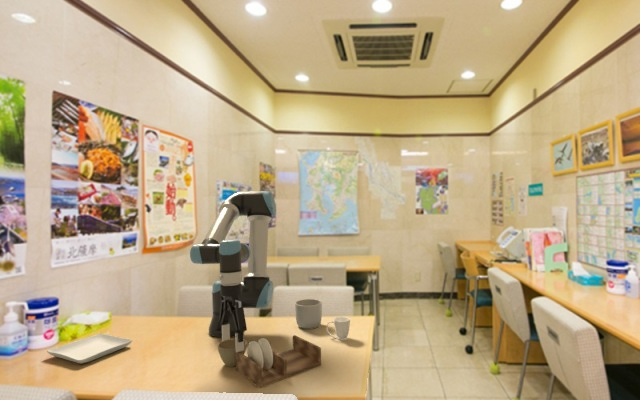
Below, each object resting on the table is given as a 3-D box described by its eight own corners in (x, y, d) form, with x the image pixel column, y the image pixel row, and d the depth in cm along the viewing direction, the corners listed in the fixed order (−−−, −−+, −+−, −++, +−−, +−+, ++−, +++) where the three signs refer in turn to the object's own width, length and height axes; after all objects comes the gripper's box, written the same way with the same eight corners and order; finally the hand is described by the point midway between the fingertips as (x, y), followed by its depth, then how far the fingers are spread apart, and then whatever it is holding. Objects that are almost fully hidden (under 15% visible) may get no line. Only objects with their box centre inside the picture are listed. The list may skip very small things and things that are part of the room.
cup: (349, 342, 143) (349, 321, 143) (325, 341, 144) (325, 321, 145) (351, 335, 150) (351, 316, 150) (328, 335, 151) (327, 316, 152)
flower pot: (236, 355, 132) (236, 336, 132) (252, 363, 125) (252, 342, 125) (212, 364, 125) (212, 344, 125) (228, 373, 118) (227, 351, 118)
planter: (322, 330, 157) (321, 305, 158) (294, 331, 157) (293, 306, 158) (322, 321, 170) (321, 298, 170) (296, 322, 170) (296, 299, 170)
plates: (247, 367, 119) (247, 337, 120) (258, 363, 122) (258, 334, 122) (261, 378, 112) (261, 346, 112) (273, 374, 114) (272, 342, 114)
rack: (236, 369, 120) (236, 351, 120) (295, 351, 135) (294, 335, 135) (259, 387, 108) (258, 367, 108) (321, 365, 122) (320, 347, 122)
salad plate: (134, 347, 144) (134, 338, 144) (80, 369, 124) (80, 359, 125) (100, 340, 153) (100, 332, 153) (45, 359, 133) (45, 350, 133)
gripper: (208, 281, 133) (210, 341, 132) (235, 289, 115) (237, 359, 113) (227, 278, 137) (229, 336, 136) (255, 286, 119) (257, 352, 118)
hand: (232, 346), depth 125 cm, fingers open, 11 cm apart
